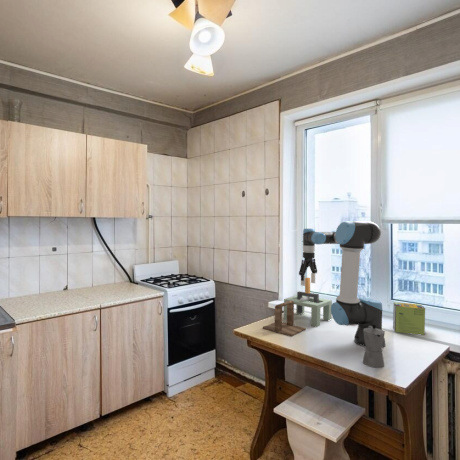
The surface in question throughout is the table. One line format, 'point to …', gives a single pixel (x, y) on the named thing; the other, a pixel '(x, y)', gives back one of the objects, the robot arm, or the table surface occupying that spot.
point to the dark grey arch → (306, 294)
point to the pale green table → (312, 308)
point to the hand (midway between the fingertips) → (308, 284)
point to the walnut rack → (282, 327)
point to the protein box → (409, 318)
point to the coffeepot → (373, 346)
